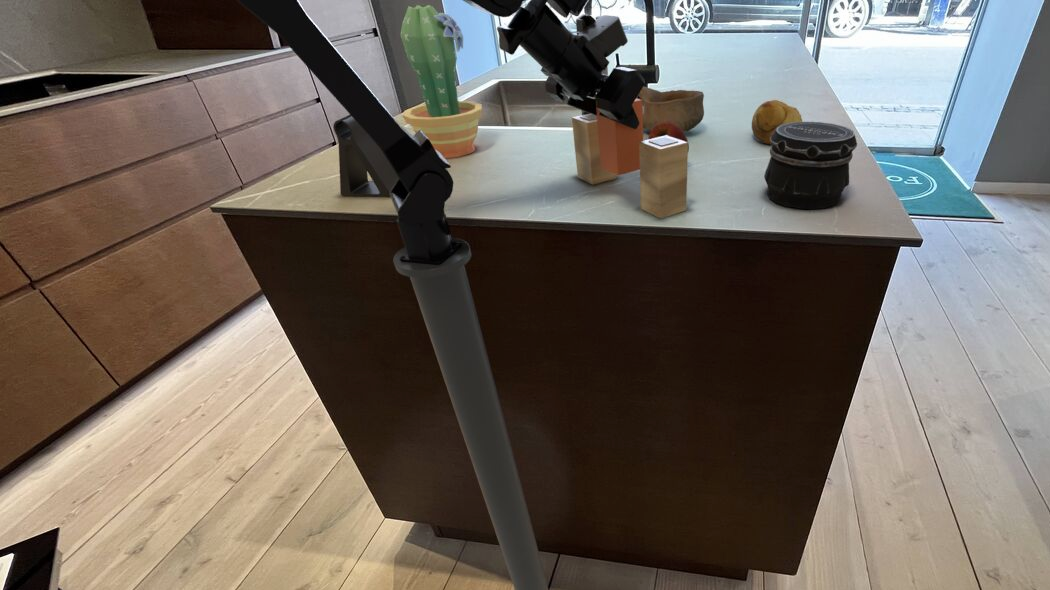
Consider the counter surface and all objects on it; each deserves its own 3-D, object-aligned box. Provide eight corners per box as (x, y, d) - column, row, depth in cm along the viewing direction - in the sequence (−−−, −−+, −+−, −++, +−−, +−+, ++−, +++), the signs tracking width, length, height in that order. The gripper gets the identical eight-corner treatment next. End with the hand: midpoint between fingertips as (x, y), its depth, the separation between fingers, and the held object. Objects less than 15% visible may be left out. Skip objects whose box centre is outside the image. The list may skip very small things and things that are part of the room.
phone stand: (407, 184, 93) (385, 111, 86) (391, 196, 89) (366, 120, 81) (359, 183, 94) (333, 111, 87) (341, 196, 90) (312, 120, 82)
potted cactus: (450, 167, 100) (411, 10, 85) (397, 156, 107) (352, 8, 91) (506, 146, 110) (481, 2, 95) (455, 137, 117) (423, 1, 102)
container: (842, 184, 87) (855, 120, 81) (848, 214, 77) (864, 144, 71) (763, 180, 90) (771, 118, 83) (760, 209, 80) (768, 141, 74)
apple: (638, 170, 96) (636, 123, 91) (665, 159, 100) (665, 114, 95) (669, 178, 92) (669, 130, 87) (696, 167, 96) (698, 120, 91)
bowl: (616, 135, 109) (615, 81, 105) (626, 137, 122) (625, 88, 118) (702, 134, 107) (704, 79, 103) (703, 136, 120) (705, 87, 116)
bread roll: (745, 131, 114) (748, 90, 109) (789, 129, 114) (795, 88, 109) (755, 148, 104) (760, 104, 99) (805, 146, 104) (812, 102, 99)
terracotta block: (618, 175, 81) (614, 104, 75) (600, 167, 84) (595, 99, 78) (644, 168, 83) (642, 99, 77) (626, 161, 87) (622, 93, 81)
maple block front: (686, 210, 80) (688, 141, 74) (660, 218, 78) (660, 148, 72) (666, 201, 84) (666, 134, 77) (640, 209, 81) (638, 140, 75)
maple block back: (616, 178, 93) (613, 116, 86) (592, 185, 90) (587, 122, 84) (601, 171, 96) (596, 111, 90) (577, 177, 94) (571, 116, 87)
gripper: (629, -6, 62) (697, 85, 74) (553, -10, 74) (621, 68, 86) (579, 78, 63) (653, 154, 75) (511, 61, 75) (584, 128, 87)
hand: (627, 122), depth 81 cm, fingers closed on terracotta block, 5 cm apart
